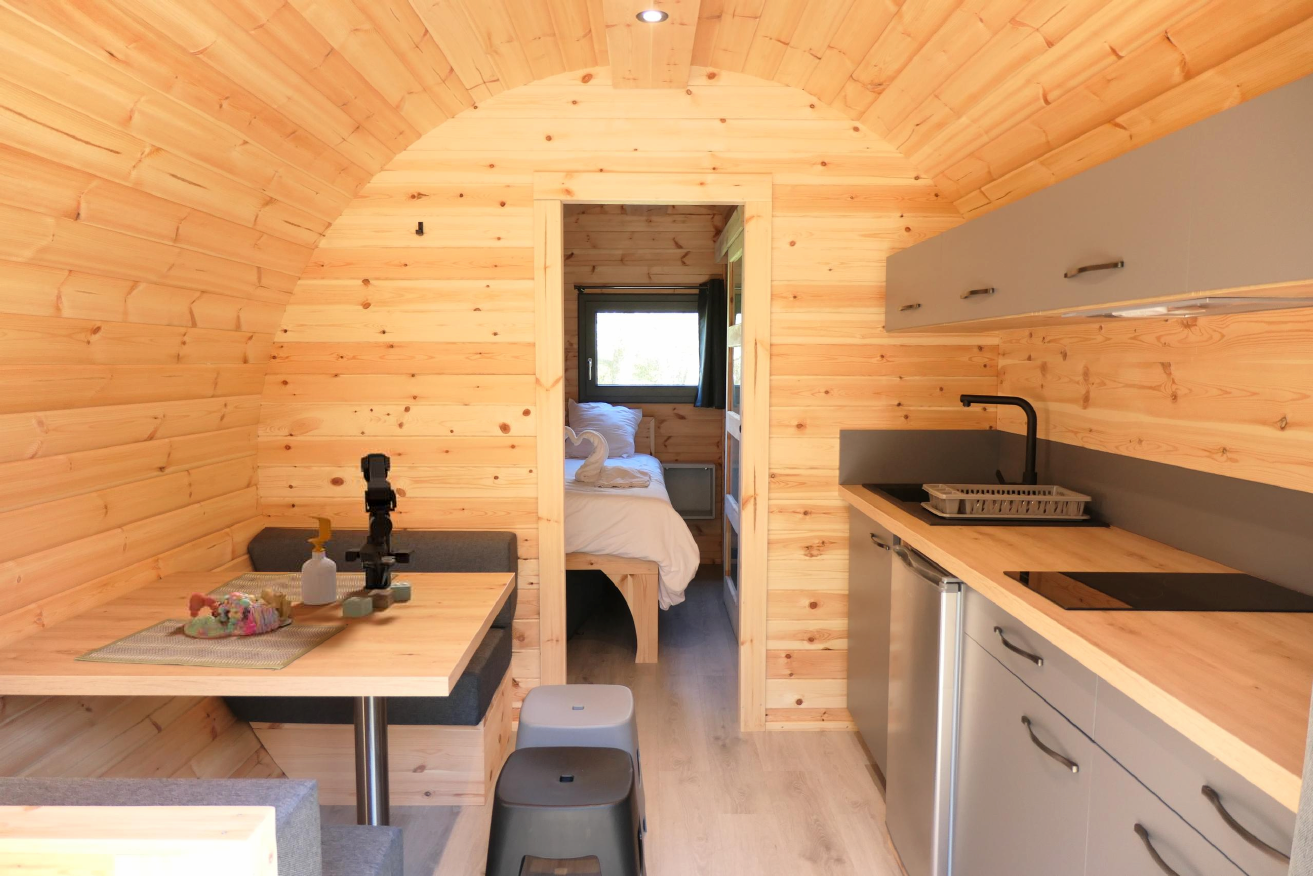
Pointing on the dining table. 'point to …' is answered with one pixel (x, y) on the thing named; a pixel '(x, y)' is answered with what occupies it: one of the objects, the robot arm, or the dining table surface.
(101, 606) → the dining table surface
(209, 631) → the colorful coral reef ornament
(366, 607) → the grey-green block
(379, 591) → the walnut block
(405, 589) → the dotted block two
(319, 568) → the soap bottle
